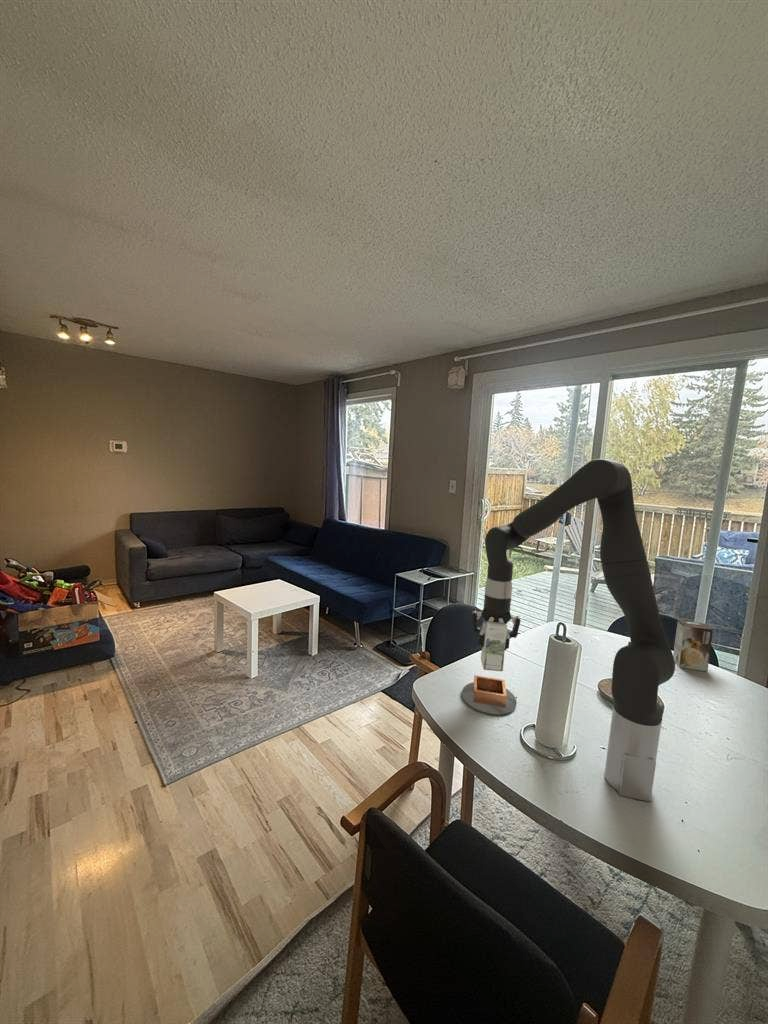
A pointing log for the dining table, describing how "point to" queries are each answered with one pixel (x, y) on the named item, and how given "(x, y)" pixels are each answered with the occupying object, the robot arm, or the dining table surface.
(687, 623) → the coffee box
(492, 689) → the rosette socket
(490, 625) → the syrup box
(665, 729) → the dining table surface
